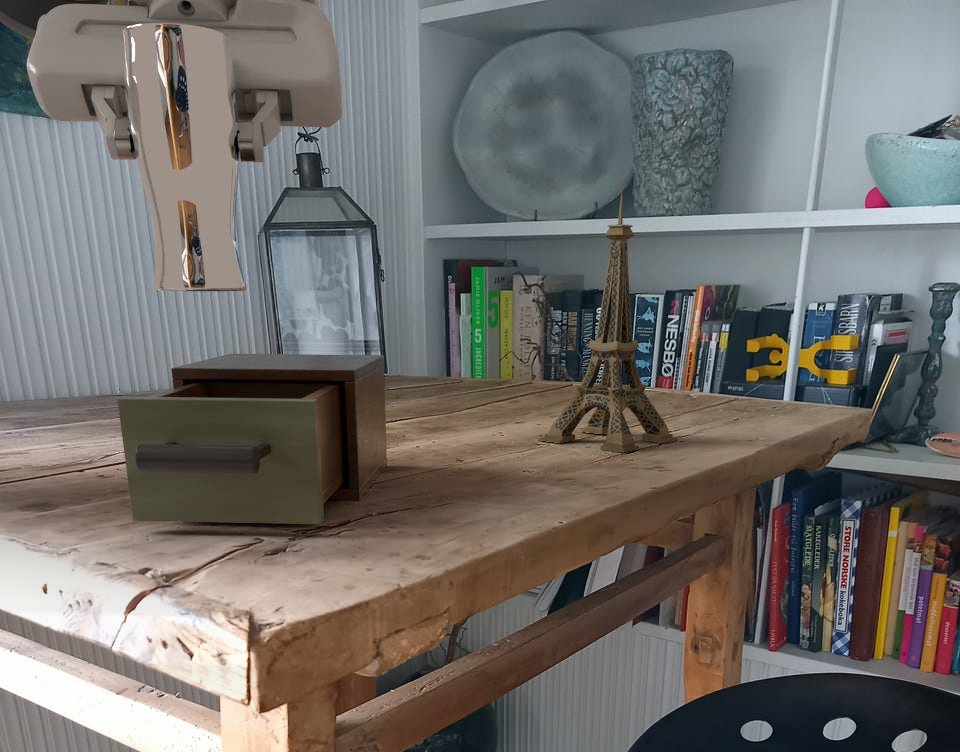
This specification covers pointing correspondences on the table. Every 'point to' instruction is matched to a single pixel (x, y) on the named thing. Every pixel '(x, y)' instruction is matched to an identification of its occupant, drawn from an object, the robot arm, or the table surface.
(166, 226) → the beer glass
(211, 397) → the drawer
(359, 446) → the cabinet
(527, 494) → the table surface
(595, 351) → the eiffel tower
